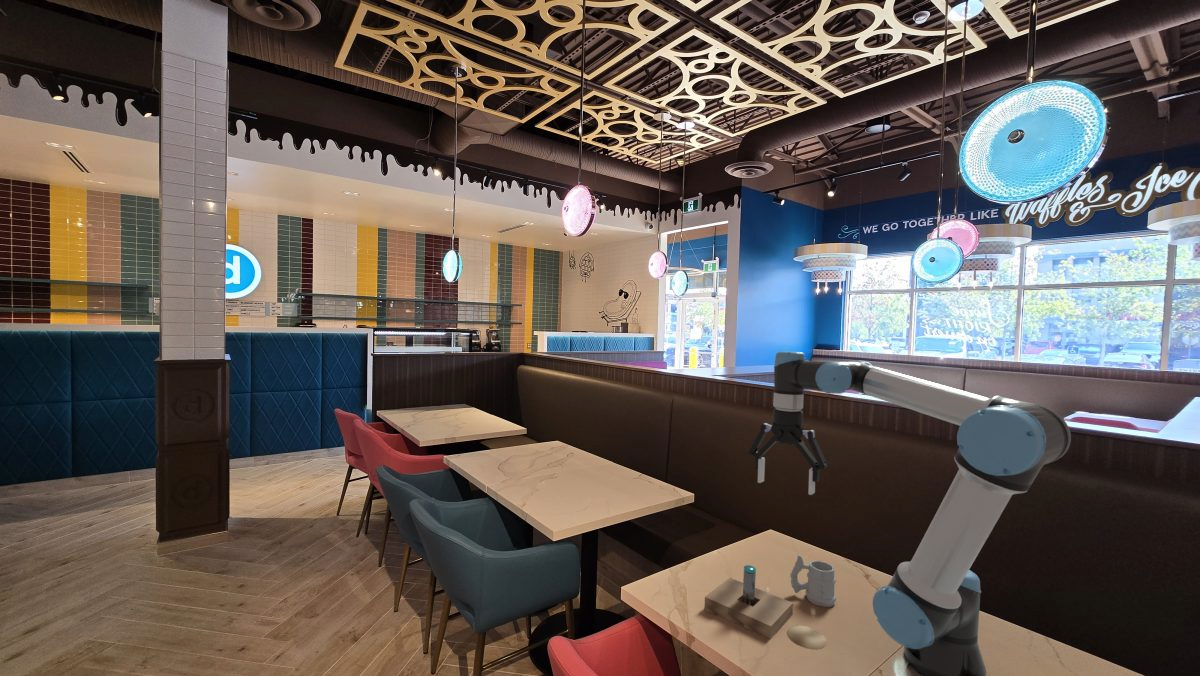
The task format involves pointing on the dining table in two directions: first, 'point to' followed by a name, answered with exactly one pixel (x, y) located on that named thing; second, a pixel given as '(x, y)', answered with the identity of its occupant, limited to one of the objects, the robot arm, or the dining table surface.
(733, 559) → the dining table surface
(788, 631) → the coaster
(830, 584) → the mug
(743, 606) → the hole board
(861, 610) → the dining table surface
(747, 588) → the peg
